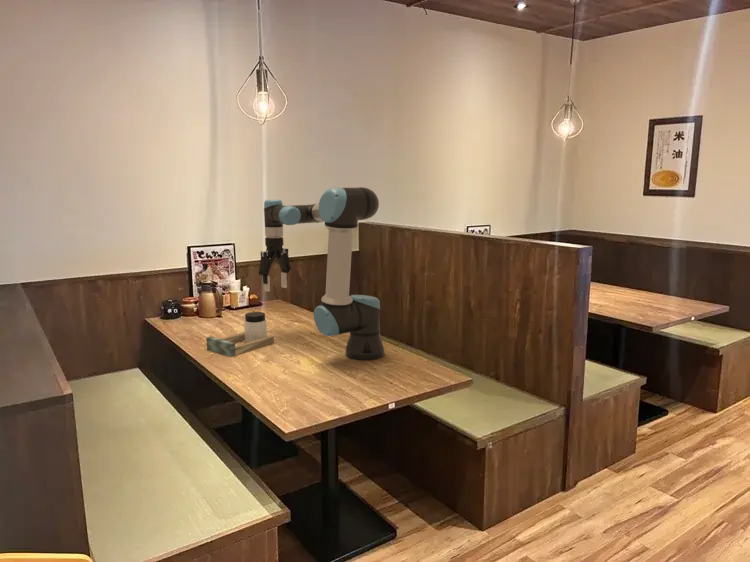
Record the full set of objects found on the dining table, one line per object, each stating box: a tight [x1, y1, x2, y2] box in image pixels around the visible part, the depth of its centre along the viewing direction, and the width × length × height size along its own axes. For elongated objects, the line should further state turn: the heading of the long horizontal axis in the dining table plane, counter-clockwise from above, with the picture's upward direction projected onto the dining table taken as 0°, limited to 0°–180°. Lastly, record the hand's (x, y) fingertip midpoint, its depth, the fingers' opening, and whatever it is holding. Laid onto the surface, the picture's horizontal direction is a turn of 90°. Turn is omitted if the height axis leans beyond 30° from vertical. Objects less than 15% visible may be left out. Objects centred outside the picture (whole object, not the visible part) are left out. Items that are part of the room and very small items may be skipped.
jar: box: [244, 311, 268, 343], centre depth 240 cm, size 9×8×12 cm
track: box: [205, 331, 275, 358], centre depth 234 cm, size 15×22×5 cm
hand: (275, 289), depth 246 cm, fingers open, 9 cm apart
